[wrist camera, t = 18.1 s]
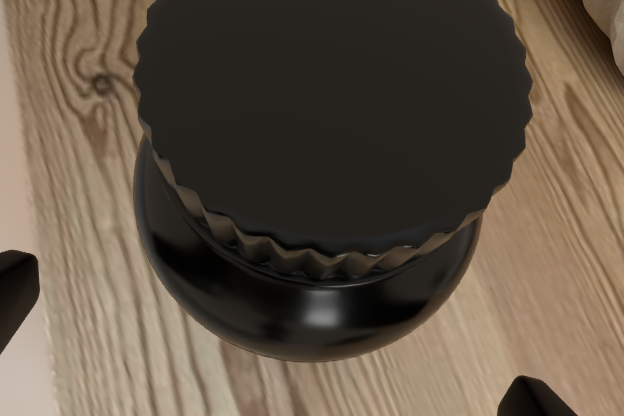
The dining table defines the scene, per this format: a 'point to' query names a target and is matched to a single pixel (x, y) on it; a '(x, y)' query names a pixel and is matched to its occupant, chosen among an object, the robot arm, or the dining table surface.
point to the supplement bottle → (322, 162)
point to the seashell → (610, 24)
